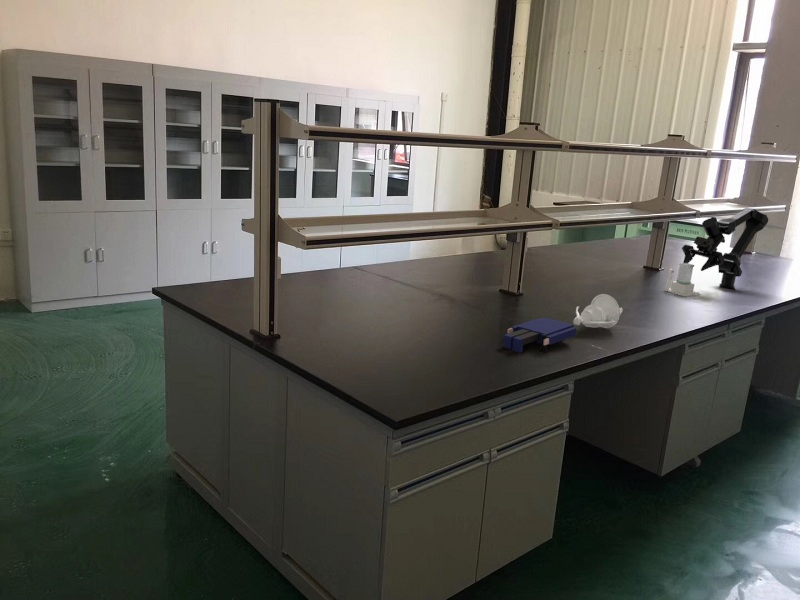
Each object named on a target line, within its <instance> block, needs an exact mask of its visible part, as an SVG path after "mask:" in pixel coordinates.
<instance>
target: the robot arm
mask: <svg viewBox="0 0 800 600" xmlns="http://www.w3.org/2000/svg"><path fill="white" fill-rule="evenodd" d="M743 223H745V228H744V230H743V231H742V233H741V235H740V236H739V238H738V240H737V241H736V243H735V245H734V246H733V247H732V249H731V250H730V252H729V253H728V252H725V253H722V252H721V251H718V246H719V245H721V243H722V244H723V243H725V242H726V240H725V236H724V235H727V236H729V235H731V234H733V233H734V232H735V231H736V228H737V227H738V226H740V225H741V224H743ZM768 223H769V217H768V216H767V214H764V213H762V212H760V211H759V210H757V209H755V208H752V207H751V208H750V207H744V208H743V209H742V210H741V211H739V212H738V213H735V214H734V215H733V216H731V217H728V218H722V219H719V220H718V219H717V217H715V216H711V217H710V218H707V219H705V220H703V221H702V223H701V225H702V228H703V230H704V233H705V235H706V236H708V237H702V236H695V240H694V241H693V244H695V245H696V249H695V247H694V245H693V246H692V245H689V244H684V245H683V246H682V247H681V250H682V252H683V254H684V258H683V260H682V261H683V262H682V263H688V264H690V262H691V261H692V260H693V259H694V258H695V256H701V257H703V258H707V259H706V261H705V263H704V264H703V265H702V267H701V268H700V271H701V272H703V271H706V270H708V269H711V268H713V267H716V266H718V273H720V274H722V275H721V276H722V277H721V281H720V283H718V284H719V288H724V289H732V290H735V289H736V286H735V283H736V278H737V277H738V278H740V277H741V276H742V274H743V271H742V268H741V264H742V262H741V261H742V260H741V258H742V256H743V254H745V251H746V250H747V248H748V246H749V245H750V243H751V241H752V240H753V239H754V237H755V235H756V234H757V233H758V232H760V231H762V230H763V229H764V228H765V227H766V226H767V224H768Z"/></svg>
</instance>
